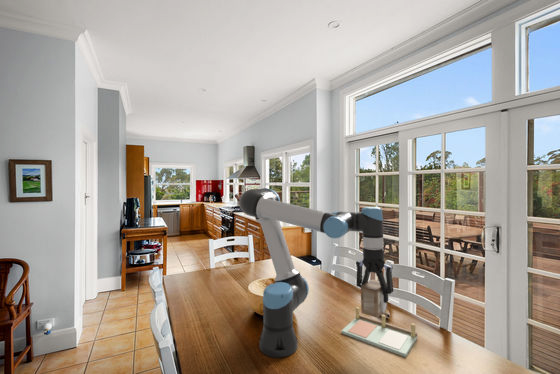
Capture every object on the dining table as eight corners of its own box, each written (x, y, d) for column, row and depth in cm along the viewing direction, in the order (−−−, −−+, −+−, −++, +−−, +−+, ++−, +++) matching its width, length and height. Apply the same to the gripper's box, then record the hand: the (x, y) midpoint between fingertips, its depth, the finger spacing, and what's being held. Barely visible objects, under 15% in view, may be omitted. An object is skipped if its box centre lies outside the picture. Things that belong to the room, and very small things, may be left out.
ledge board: (417, 338, 113) (417, 323, 113) (405, 357, 101) (405, 340, 101) (357, 318, 130) (357, 305, 130) (341, 333, 118) (341, 318, 118)
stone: (380, 307, 142) (380, 299, 142) (393, 321, 128) (393, 311, 128) (370, 307, 142) (370, 299, 142) (382, 321, 127) (382, 312, 127)
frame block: (377, 318, 99) (376, 290, 99) (361, 313, 103) (360, 286, 103) (387, 308, 107) (387, 282, 107) (372, 304, 111) (371, 279, 111)
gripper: (402, 249, 101) (404, 311, 101) (354, 243, 114) (356, 298, 114) (395, 253, 96) (397, 319, 96) (345, 246, 109) (347, 304, 109)
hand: (374, 307), depth 105 cm, fingers closed on frame block, 6 cm apart
